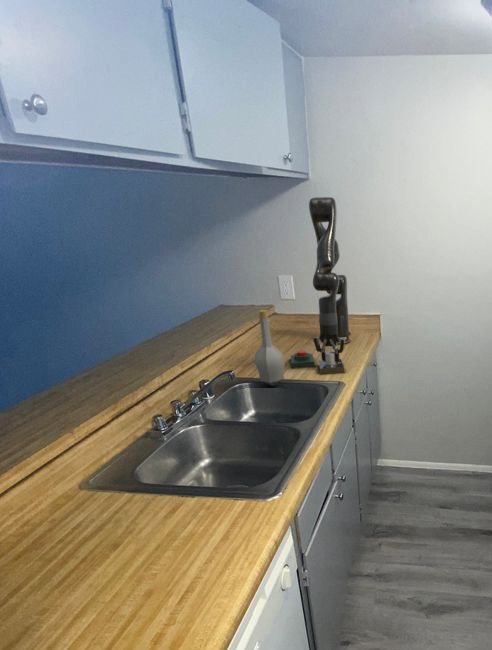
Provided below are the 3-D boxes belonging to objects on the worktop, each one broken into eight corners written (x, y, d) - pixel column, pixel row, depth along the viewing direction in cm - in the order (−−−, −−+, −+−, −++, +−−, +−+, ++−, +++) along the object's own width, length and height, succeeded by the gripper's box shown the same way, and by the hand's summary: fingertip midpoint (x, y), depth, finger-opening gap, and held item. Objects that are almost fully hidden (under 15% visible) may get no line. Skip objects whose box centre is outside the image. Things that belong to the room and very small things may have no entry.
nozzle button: (297, 354, 215) (296, 350, 214) (306, 353, 216) (305, 350, 215) (297, 357, 212) (297, 353, 211) (306, 356, 212) (306, 352, 212)
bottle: (292, 382, 193) (283, 308, 179) (279, 392, 184) (269, 315, 169) (266, 380, 195) (256, 306, 181) (253, 390, 186) (241, 313, 172)
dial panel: (318, 365, 213) (318, 359, 211) (341, 363, 215) (340, 358, 213) (321, 374, 202) (320, 368, 201) (344, 372, 204) (343, 366, 203)
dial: (324, 365, 205) (323, 353, 203) (327, 361, 210) (326, 349, 207) (334, 365, 205) (334, 353, 202) (337, 362, 209) (336, 350, 207)
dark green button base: (291, 359, 219) (290, 351, 218) (312, 358, 222) (312, 350, 220) (291, 368, 209) (290, 359, 207) (314, 366, 211) (313, 357, 209)
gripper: (347, 321, 201) (348, 359, 209) (314, 319, 203) (317, 357, 211) (342, 325, 195) (344, 365, 203) (309, 323, 196) (312, 363, 204)
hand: (330, 361), depth 207 cm, fingers closed on dial, 5 cm apart
